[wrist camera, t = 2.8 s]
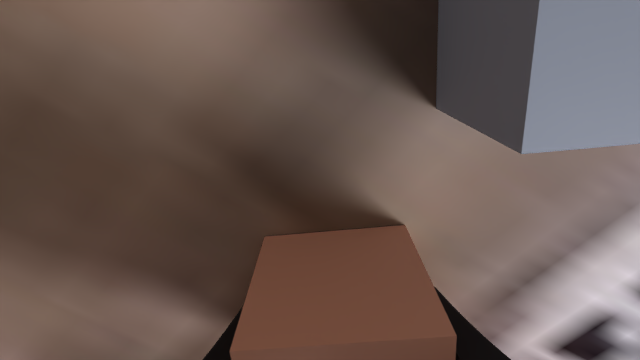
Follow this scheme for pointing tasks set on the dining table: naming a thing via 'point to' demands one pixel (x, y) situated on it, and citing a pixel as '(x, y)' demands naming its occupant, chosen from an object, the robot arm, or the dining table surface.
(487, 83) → the slate block
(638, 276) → the dining table surface
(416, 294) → the terracotta block
